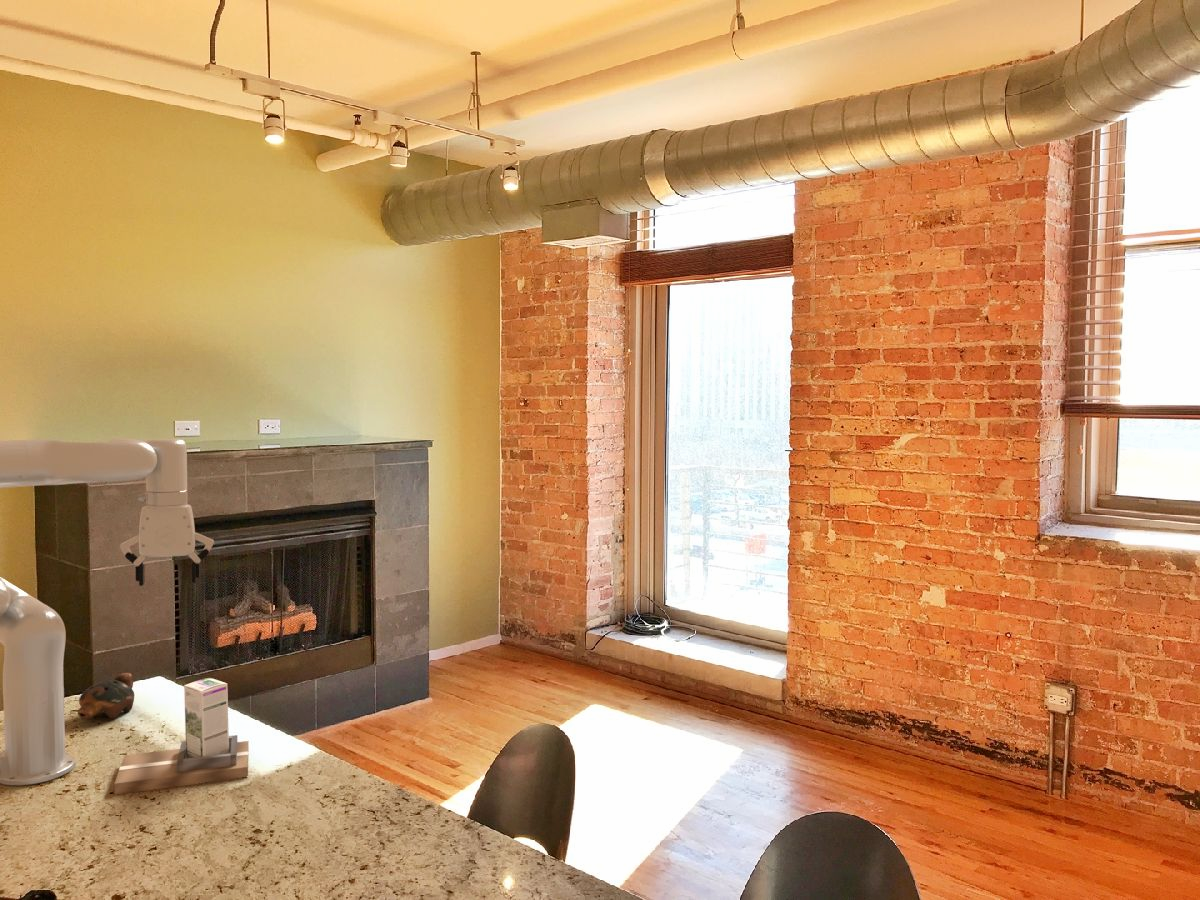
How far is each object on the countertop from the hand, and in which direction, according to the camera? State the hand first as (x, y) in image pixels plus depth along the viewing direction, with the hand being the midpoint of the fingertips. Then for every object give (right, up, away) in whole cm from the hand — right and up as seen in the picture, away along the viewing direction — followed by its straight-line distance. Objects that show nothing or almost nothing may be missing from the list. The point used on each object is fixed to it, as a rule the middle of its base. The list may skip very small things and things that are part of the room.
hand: (168, 582), depth 183 cm
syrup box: (+13, -32, -13) cm, 36 cm away
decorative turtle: (-20, -31, +14) cm, 40 cm away
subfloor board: (+10, -34, -14) cm, 37 cm away
